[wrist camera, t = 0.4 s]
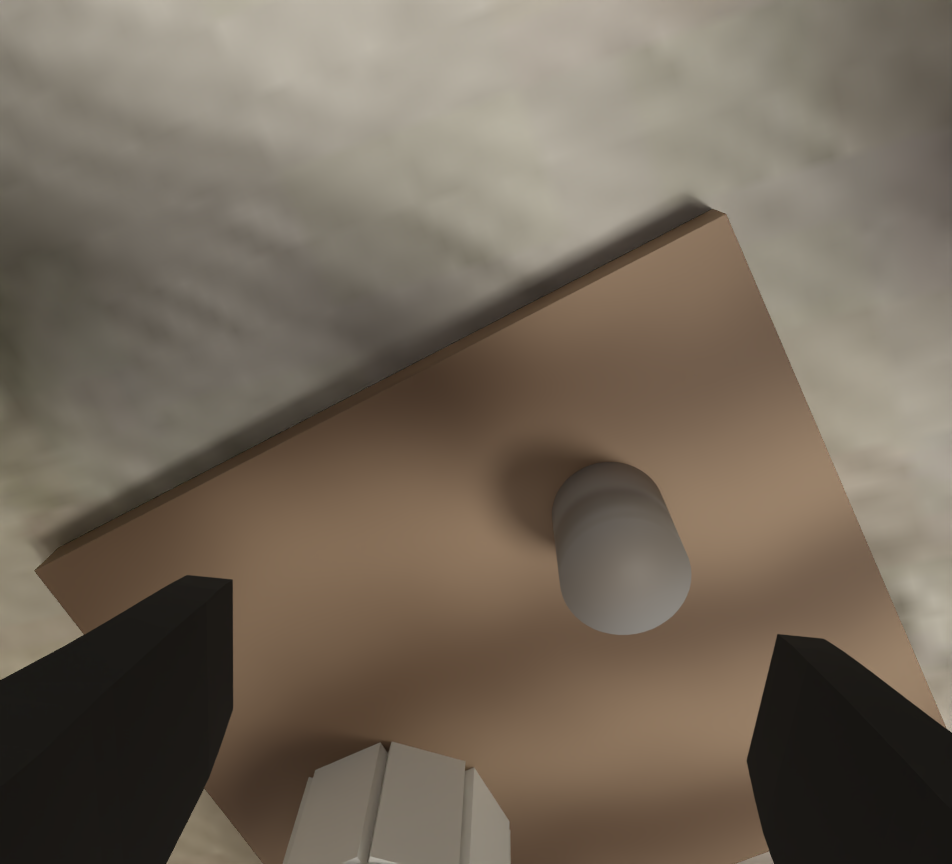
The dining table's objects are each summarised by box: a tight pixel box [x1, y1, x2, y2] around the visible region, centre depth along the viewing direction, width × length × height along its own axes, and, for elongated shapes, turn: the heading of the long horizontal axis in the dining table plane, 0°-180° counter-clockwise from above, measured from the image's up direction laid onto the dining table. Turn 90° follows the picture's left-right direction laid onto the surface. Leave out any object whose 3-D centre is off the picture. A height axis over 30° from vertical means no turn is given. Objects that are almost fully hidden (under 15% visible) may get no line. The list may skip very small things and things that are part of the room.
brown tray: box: [34, 209, 947, 864], centre depth 20 cm, size 16×18×4 cm
